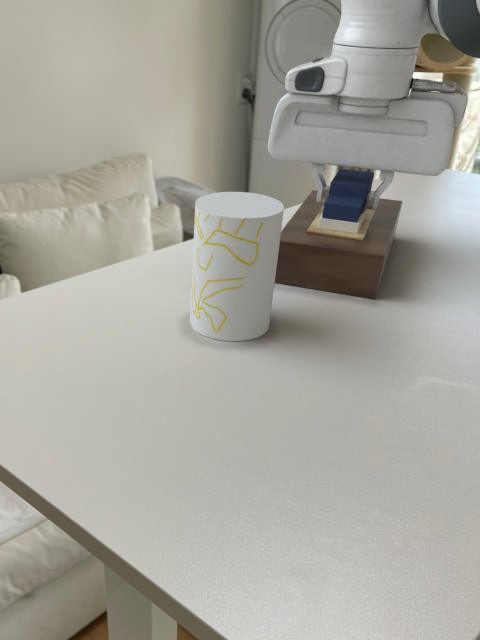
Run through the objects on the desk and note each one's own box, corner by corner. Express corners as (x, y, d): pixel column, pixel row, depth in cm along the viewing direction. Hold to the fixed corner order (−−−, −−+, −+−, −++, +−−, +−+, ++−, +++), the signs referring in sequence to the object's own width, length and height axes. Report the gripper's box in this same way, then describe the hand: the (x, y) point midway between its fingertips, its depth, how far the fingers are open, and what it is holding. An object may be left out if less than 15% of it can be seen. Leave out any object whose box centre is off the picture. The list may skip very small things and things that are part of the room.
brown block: (307, 226, 92) (312, 188, 89) (394, 238, 89) (403, 199, 86) (269, 281, 75) (274, 238, 72) (374, 299, 72) (385, 254, 69)
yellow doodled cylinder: (173, 323, 66) (177, 204, 59) (220, 299, 71) (229, 186, 64) (239, 349, 62) (251, 224, 55) (284, 321, 67) (300, 203, 60)
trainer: (333, 203, 84) (339, 167, 81) (369, 207, 82) (376, 171, 80) (317, 228, 75) (323, 189, 73) (357, 233, 74) (365, 194, 72)
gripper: (472, 78, 69) (438, 209, 77) (284, 66, 75) (271, 188, 83) (472, 86, 65) (436, 224, 73) (272, 72, 71) (258, 201, 79)
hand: (346, 205), depth 78 cm, fingers closed on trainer, 4 cm apart
